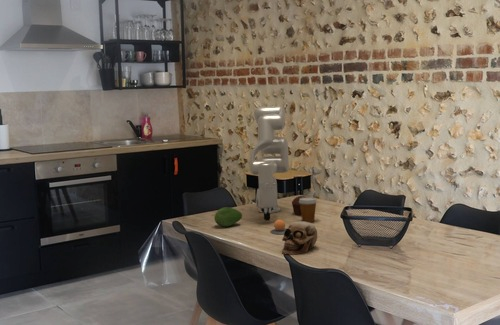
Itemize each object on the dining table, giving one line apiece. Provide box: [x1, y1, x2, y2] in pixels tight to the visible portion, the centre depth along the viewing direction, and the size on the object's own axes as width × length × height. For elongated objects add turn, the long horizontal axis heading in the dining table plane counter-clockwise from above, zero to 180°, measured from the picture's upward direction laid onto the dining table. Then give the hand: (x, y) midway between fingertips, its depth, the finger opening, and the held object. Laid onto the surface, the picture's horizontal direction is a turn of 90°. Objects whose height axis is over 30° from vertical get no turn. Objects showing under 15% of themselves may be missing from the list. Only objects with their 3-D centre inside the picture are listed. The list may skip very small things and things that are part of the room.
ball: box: [273, 219, 286, 231], centre depth 316 cm, size 6×6×6 cm
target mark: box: [269, 227, 288, 236], centre depth 314 cm, size 12×12×1 cm
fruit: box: [214, 206, 243, 228], centre depth 330 cm, size 15×10×10 cm, turn 115°
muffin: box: [291, 195, 306, 217], centre depth 351 cm, size 12×11×10 cm
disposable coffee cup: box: [299, 196, 318, 223], centre depth 334 cm, size 10×10×12 cm
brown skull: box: [281, 221, 318, 256], centre depth 280 cm, size 16×17×13 cm
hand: (267, 220), depth 333 cm, fingers closed
